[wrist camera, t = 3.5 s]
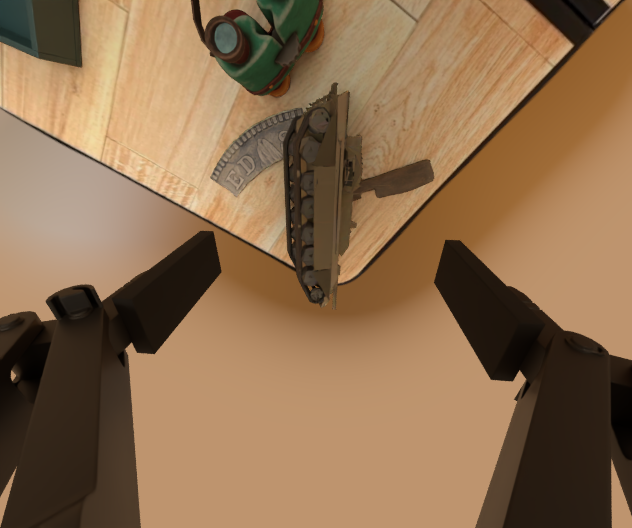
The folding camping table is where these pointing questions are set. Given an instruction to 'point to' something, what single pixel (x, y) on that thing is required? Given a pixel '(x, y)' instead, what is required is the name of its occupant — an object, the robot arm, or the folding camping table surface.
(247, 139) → the coin fragment
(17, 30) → the box
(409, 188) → the brown cleaver
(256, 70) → the binoculars
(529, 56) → the folding camping table surface
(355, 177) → the tank
